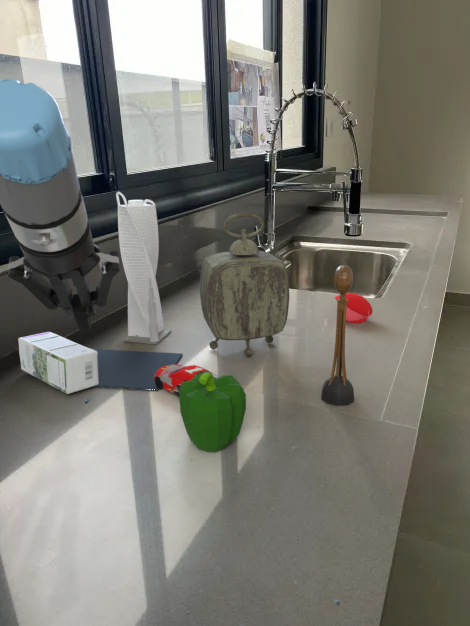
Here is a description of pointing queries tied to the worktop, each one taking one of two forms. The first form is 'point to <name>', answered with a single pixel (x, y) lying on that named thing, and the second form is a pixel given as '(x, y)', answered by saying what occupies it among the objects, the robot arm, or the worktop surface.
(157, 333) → the skyscraper
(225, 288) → the tabletop clock
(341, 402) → the wooden tabletop sculpture
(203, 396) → the bell pepper
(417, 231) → the worktop surface
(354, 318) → the cap
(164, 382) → the race car
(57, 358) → the syrup box
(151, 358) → the mat
